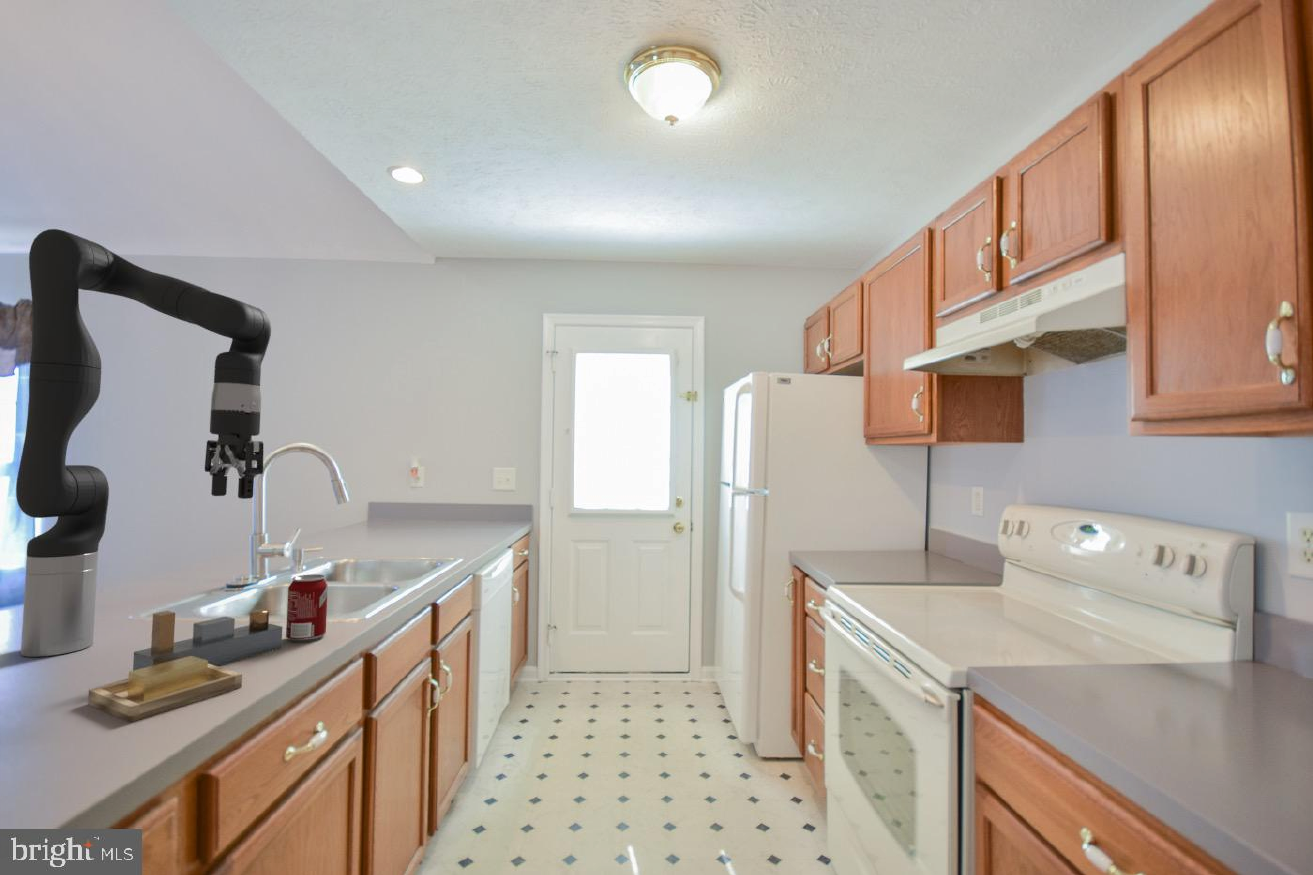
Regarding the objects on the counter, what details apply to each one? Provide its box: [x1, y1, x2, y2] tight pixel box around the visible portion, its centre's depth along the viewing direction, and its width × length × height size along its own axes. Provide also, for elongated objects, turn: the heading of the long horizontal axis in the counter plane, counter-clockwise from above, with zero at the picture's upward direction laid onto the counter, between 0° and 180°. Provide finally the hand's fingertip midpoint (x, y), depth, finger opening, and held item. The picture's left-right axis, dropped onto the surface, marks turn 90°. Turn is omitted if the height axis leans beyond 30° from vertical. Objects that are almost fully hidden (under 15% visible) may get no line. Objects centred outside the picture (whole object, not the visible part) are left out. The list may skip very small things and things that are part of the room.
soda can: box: [285, 573, 329, 643], centre depth 117 cm, size 7×7×12 cm
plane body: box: [132, 608, 283, 671], centre depth 103 cm, size 20×6×10 cm, turn 154°
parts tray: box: [87, 664, 243, 723], centre depth 88 cm, size 12×14×2 cm
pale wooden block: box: [127, 656, 208, 702], centre depth 88 cm, size 4×8×4 cm, turn 154°
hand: (232, 497), depth 109 cm, fingers open, 8 cm apart
